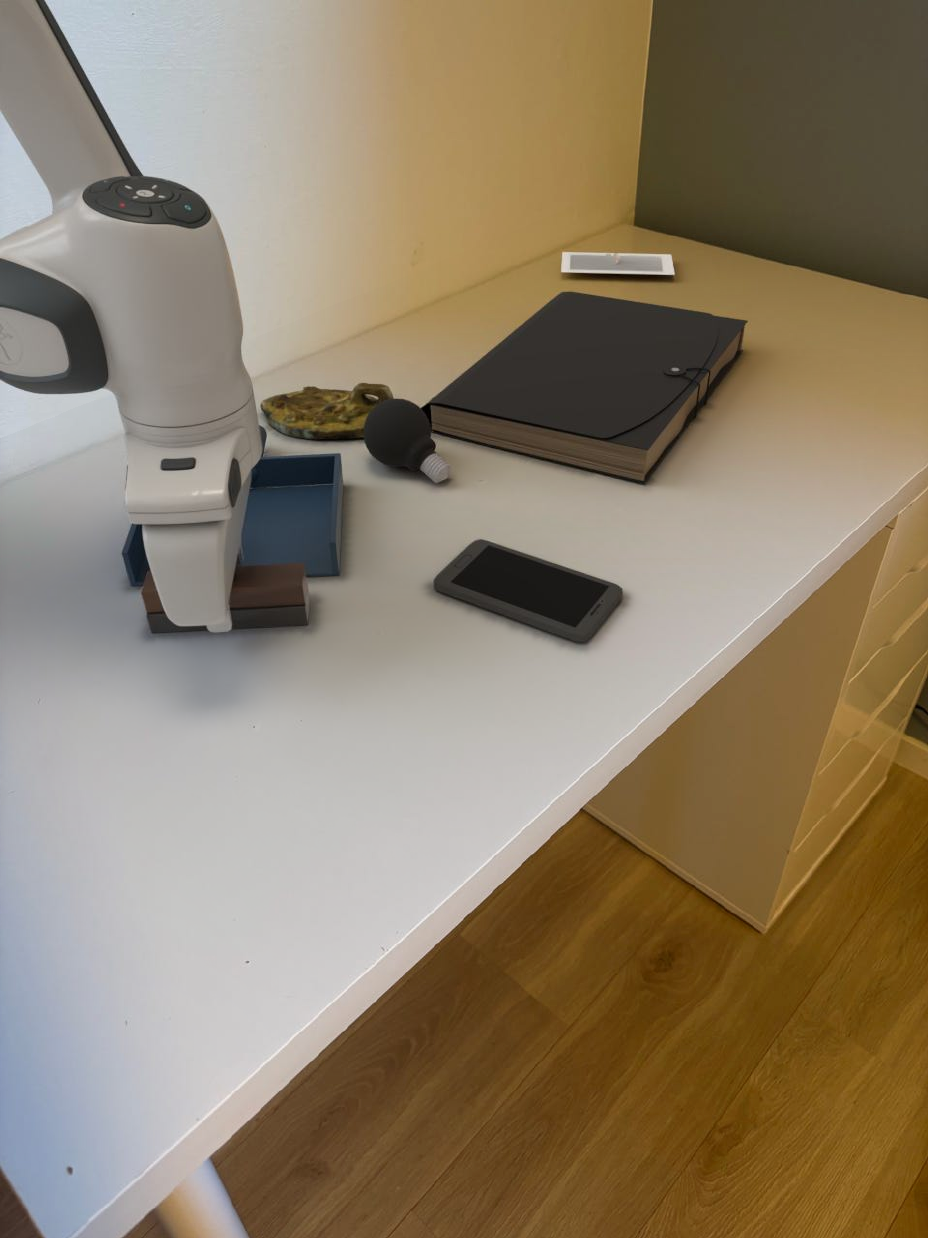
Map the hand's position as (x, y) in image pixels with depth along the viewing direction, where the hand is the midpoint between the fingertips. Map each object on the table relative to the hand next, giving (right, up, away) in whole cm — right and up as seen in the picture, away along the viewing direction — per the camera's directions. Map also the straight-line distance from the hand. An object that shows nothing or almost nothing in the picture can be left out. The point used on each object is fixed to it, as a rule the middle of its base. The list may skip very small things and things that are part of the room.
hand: (227, 596), depth 77 cm
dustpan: (-1, +8, +14) cm, 16 cm away
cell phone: (+23, 0, +3) cm, 24 cm away
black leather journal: (+32, +23, +32) cm, 51 cm away
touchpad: (+39, +46, +59) cm, 84 cm away
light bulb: (+13, +13, +19) cm, 26 cm away
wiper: (0, -2, +1) cm, 2 cm away
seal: (+4, +19, +27) cm, 33 cm away
